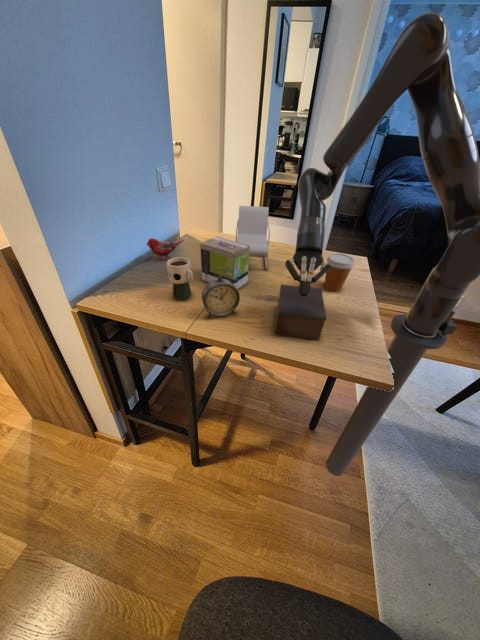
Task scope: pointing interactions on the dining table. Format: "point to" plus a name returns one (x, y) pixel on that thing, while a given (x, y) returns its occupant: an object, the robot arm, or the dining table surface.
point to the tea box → (225, 260)
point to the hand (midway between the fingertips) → (303, 295)
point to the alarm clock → (220, 296)
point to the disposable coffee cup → (337, 271)
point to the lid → (301, 303)
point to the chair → (254, 230)
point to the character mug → (180, 277)
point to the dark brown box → (298, 326)
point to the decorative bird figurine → (162, 247)
